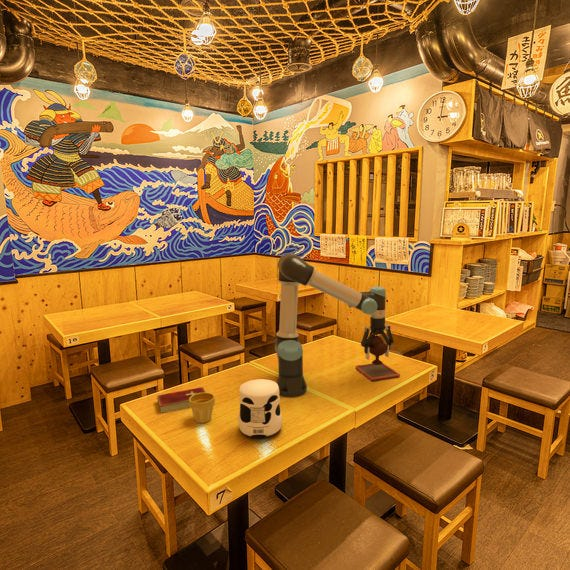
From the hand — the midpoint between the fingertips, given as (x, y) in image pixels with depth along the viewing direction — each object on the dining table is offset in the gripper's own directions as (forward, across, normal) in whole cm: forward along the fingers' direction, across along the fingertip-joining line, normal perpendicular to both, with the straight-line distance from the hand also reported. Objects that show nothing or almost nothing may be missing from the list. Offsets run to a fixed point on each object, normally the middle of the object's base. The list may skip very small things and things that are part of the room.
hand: (377, 357), depth 207 cm
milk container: (+8, -71, -35) cm, 80 cm away
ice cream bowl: (+3, 0, 0) cm, 3 cm away
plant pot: (+8, -92, -19) cm, 94 cm away
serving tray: (+8, 0, 0) cm, 8 cm away
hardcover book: (+9, -100, -1) cm, 100 cm away
